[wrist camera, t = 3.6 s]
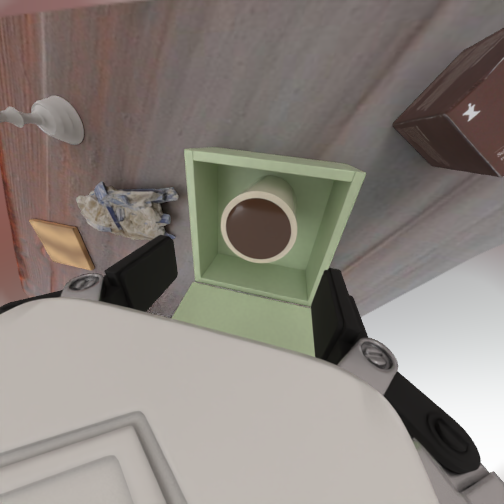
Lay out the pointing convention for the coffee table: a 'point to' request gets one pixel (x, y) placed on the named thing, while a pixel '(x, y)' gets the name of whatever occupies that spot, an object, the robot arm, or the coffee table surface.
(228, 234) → the cup
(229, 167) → the green box base
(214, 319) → the lid
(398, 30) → the coffee table surface
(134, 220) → the crumpled paper
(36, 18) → the coffee table surface
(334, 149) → the coffee table surface
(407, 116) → the box
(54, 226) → the plate
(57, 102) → the chalice
